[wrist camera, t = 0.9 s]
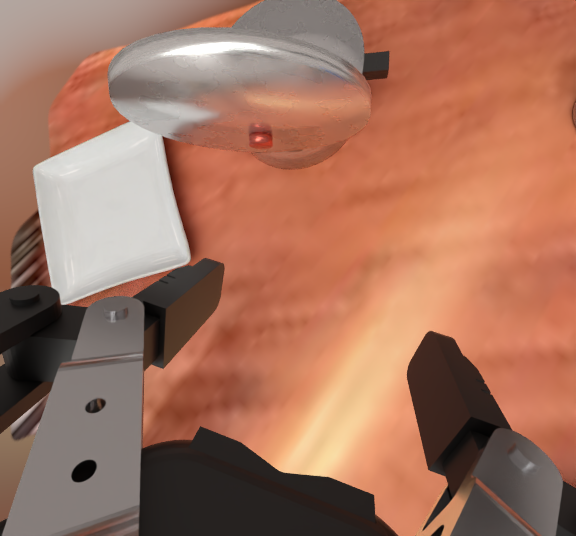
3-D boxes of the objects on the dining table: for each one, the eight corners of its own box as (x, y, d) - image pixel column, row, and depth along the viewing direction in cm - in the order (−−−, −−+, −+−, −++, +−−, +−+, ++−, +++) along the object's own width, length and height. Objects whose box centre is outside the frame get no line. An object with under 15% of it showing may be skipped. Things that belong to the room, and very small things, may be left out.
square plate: (50, 173, 54) (28, 165, 50) (169, 121, 49) (154, 107, 46) (72, 306, 51) (50, 308, 47) (202, 264, 46) (189, 262, 42)
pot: (377, 167, 41) (386, 133, 32) (217, 171, 46) (186, 143, 37) (383, 40, 42) (393, -26, 33) (226, 59, 47) (199, 7, 39)
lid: (364, 139, 33) (363, 158, 33) (204, 146, 37) (205, 163, 38) (389, -2, 12) (385, 54, 12) (21, 53, 16) (26, 93, 17)
